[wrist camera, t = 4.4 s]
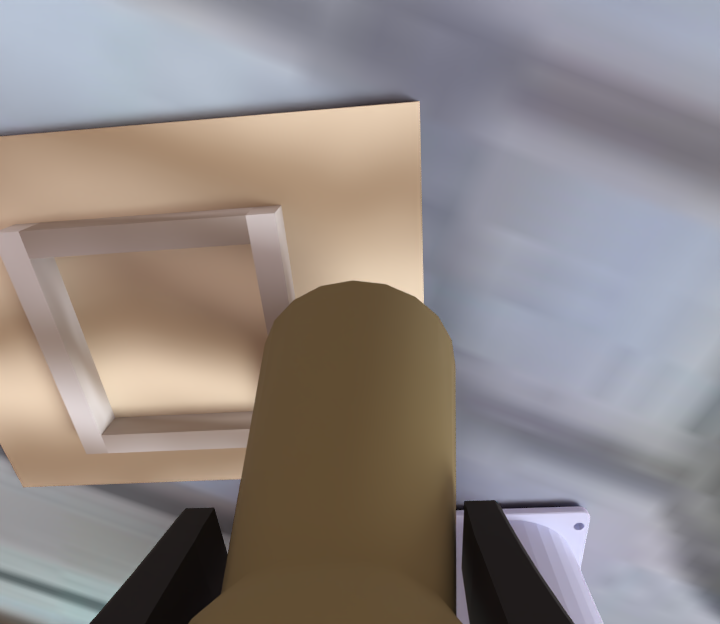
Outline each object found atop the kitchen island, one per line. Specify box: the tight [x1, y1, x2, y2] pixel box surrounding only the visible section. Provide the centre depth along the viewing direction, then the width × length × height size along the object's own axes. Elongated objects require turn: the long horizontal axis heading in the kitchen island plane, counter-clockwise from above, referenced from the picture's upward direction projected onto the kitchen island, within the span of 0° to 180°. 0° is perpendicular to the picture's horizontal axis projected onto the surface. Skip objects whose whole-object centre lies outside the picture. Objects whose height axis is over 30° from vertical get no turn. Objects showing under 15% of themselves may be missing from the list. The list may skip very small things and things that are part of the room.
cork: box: [189, 280, 462, 624], centre depth 10 cm, size 6×6×11 cm
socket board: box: [0, 101, 424, 487], centre depth 19 cm, size 16×20×2 cm
